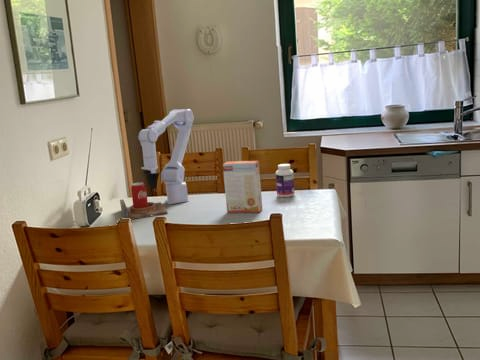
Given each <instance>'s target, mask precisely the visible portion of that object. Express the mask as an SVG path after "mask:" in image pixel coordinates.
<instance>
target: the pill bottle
mask: <svg viewBox="0 0 480 360" xmlns="http://www.w3.org/2000/svg"><path fill="white" fill-rule="evenodd" d="M294 179H295V177H294V171H293V169H291V164H290V163H280V164H278V165H277V170H276V171H275V185H276V195H277V197H279V198H282V197H286V198H291V197H290V196H292V197H294V196H295V180H294Z"/></svg>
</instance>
